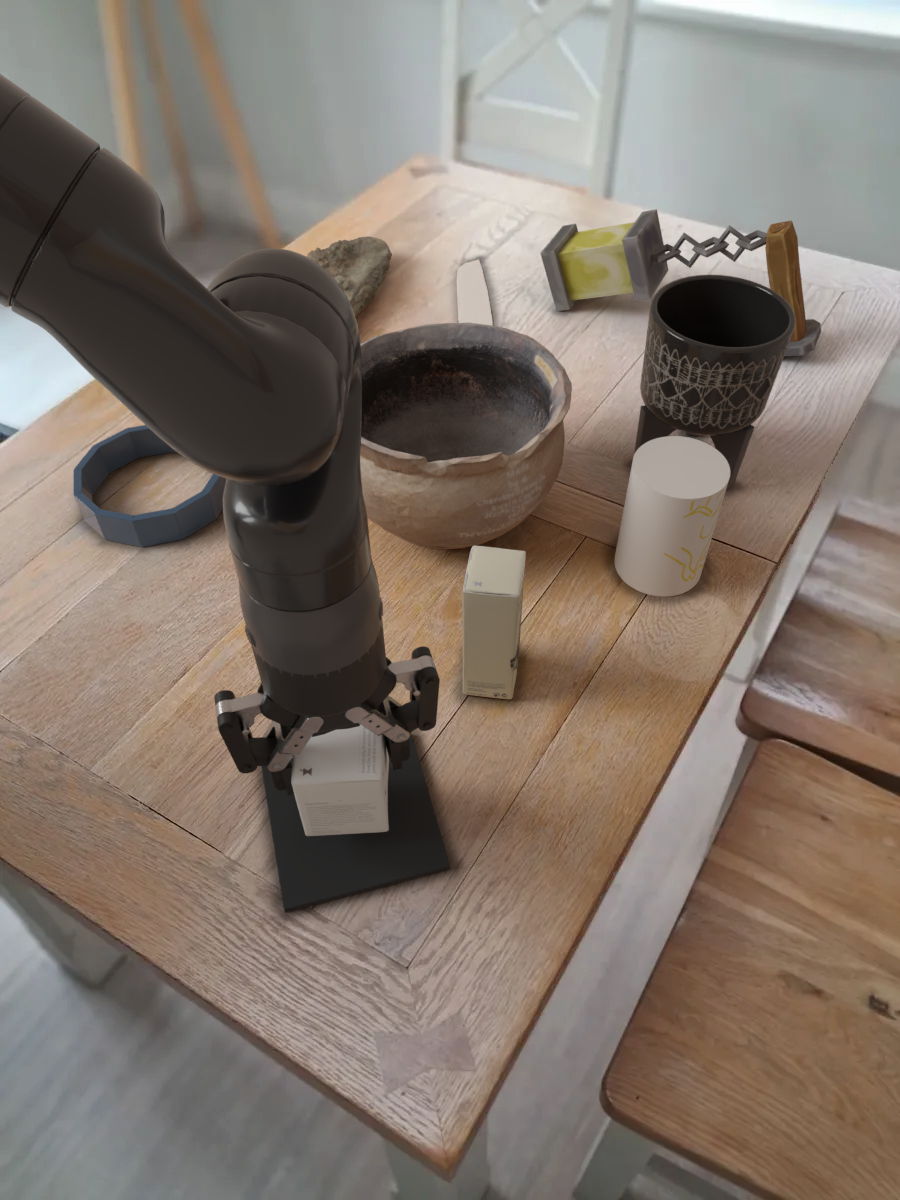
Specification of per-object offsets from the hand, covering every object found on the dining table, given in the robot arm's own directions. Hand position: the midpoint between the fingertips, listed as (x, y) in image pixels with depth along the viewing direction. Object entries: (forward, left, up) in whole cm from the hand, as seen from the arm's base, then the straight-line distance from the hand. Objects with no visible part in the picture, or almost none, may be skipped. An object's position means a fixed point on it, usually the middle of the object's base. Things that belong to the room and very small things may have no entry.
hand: (342, 770), depth 63 cm
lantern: (+52, +56, -7) cm, 77 cm away
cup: (+33, +18, -7) cm, 38 cm away
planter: (+42, +31, -7) cm, 53 cm away
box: (+14, +10, -7) cm, 19 cm away
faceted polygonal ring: (-12, +41, -7) cm, 43 cm away
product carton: (0, 0, -4) cm, 4 cm away
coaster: (0, 0, -7) cm, 7 cm away
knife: (+28, +62, -7) cm, 68 cm away
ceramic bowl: (+16, +31, -7) cm, 36 cm away
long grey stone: (+10, +68, -7) cm, 69 cm away
